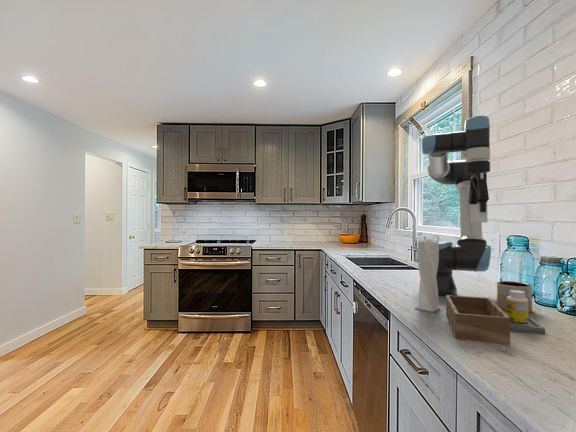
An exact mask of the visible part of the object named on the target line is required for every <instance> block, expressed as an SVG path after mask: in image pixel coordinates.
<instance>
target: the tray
mask: <svg viewBox="0 0 576 432" xmlns="http://www.w3.org/2000/svg"><path fill="white" fill-rule="evenodd" d="M510 332H521V333H532V334H542V335H544V334H546V328H545V327H544V326H543V325H542V324H540V322H538V321H536V320H535V318H533V317H529V324H528V325H527V326H522V325H513V324H510Z"/></svg>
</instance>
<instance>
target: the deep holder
mask: <svg viewBox="0 0 576 432" xmlns="http://www.w3.org/2000/svg"><path fill="white" fill-rule="evenodd" d="M445 302H446V303H445V313H446V314H445V316H446V319H447V320H448V323H449V326H450V329H451V330H452V334H453V336H454V338H455V339H457V340H467V341H475V342H484V343H495V344H503V345H511V331H510V317H509V316H508V315H507V312H506V311H505V310H502V309H501V308H499V307H498V306H497V303H495V302H494V301H493V299H491V298H490V297H481V296H480V297H479V296H466V295H465V296H463V295H462V296H461V295H447V296H445Z"/></svg>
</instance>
